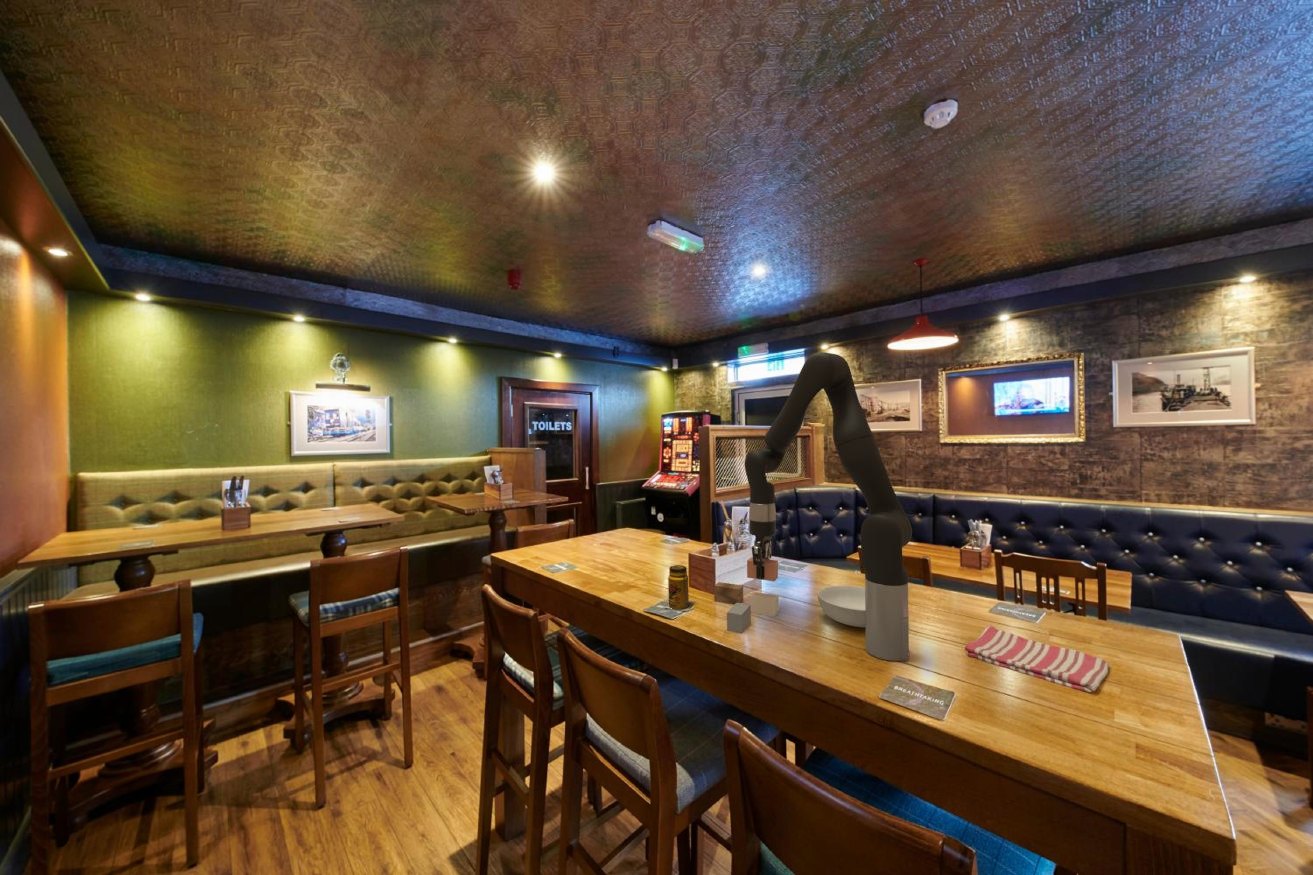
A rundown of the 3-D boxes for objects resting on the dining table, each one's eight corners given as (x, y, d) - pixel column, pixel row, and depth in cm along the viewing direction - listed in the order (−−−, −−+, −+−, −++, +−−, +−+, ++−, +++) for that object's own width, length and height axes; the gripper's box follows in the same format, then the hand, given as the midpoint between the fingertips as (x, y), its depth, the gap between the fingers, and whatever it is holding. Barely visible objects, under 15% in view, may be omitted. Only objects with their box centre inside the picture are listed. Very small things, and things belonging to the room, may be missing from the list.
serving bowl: (915, 637, 122) (915, 610, 121) (832, 637, 122) (832, 610, 122) (879, 607, 142) (878, 584, 142) (808, 607, 143) (808, 584, 143)
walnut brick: (743, 601, 149) (743, 585, 149) (739, 605, 145) (738, 589, 145) (719, 597, 152) (718, 581, 152) (714, 601, 149) (714, 585, 149)
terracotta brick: (777, 577, 139) (777, 560, 139) (774, 581, 136) (774, 563, 136) (751, 573, 143) (751, 557, 143) (747, 577, 140) (747, 560, 139)
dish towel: (986, 636, 123) (986, 623, 123) (1110, 670, 105) (1110, 654, 105) (962, 657, 112) (962, 642, 112) (1097, 699, 94) (1097, 681, 94)
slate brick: (736, 620, 134) (736, 602, 134) (750, 622, 132) (750, 604, 132) (727, 630, 127) (726, 612, 127) (741, 633, 125) (741, 614, 125)
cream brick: (778, 612, 140) (778, 595, 139) (775, 617, 136) (775, 599, 136) (751, 607, 143) (751, 591, 143) (747, 612, 140) (747, 595, 140)
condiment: (664, 609, 143) (663, 569, 143) (672, 599, 151) (672, 561, 151) (687, 611, 140) (687, 571, 140) (695, 602, 148) (694, 563, 148)
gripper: (768, 523, 131) (768, 585, 131) (781, 515, 144) (781, 571, 144) (742, 521, 135) (742, 581, 135) (756, 513, 147) (757, 568, 147)
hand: (762, 576), depth 139 cm, fingers closed on terracotta brick, 4 cm apart
